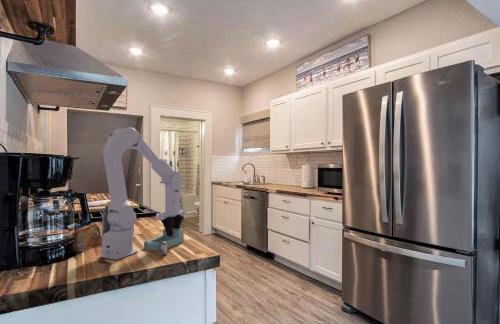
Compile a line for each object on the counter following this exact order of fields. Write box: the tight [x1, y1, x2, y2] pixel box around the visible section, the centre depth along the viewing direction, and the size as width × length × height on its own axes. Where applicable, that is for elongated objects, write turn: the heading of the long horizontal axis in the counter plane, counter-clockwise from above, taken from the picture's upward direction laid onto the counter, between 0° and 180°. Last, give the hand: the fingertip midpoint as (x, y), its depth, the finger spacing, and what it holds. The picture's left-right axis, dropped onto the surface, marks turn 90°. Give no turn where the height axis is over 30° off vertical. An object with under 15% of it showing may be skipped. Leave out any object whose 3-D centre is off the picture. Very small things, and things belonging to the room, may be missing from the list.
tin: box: [71, 224, 101, 253], centre depth 107 cm, size 15×3×8 cm, turn 179°
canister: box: [101, 200, 135, 236], centre depth 128 cm, size 13×13×18 cm
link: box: [143, 228, 185, 252], centre depth 111 cm, size 13×8×5 cm, turn 156°
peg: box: [160, 241, 168, 257], centre depth 99 cm, size 2×2×5 cm
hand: (172, 234), depth 116 cm, fingers open, 3 cm apart
